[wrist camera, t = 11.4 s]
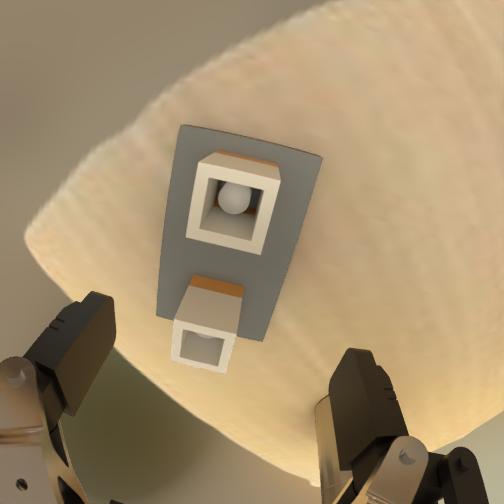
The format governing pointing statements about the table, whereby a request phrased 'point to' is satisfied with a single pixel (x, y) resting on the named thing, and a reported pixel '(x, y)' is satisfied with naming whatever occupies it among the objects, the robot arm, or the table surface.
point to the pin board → (227, 250)
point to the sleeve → (220, 222)
